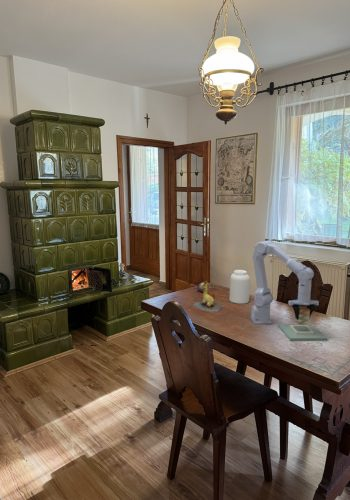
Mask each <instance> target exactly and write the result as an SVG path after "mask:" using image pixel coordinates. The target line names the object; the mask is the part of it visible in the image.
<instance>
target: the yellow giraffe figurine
mask: <svg viewBox="0 0 350 500" xmlns="http://www.w3.org/2000/svg"><path fill="white" fill-rule="evenodd" d="M199 284H200V287H199V288H200V290H202V289H204V292H202V299H201V300H200V301H197V302H195V303H193V305H194V306H195V308H197V309H198V310H202V311H206V312H218V311H219V310H221V309H222V307H220V306H225V304H223V303H220V302H216V301H215V298H213V297H211V296H210V295H208V294H207V291H208V290H209V289H208V285H209V282H208V281H207V280H206V281H204V282H201V283H199ZM211 307H213V308H211Z"/></svg>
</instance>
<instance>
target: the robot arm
mask: <svg viewBox="0 0 350 500" xmlns="http://www.w3.org/2000/svg"><path fill="white" fill-rule="evenodd" d="M252 254H253V255H252V261H253V267H254V274H255V275H254V276H255V282H256V290H255V292H254V298H253V299H254V301H253V302H254V303H255V304H254V305H251V316H250V319H251V321H252V322H253V323H254V324H256V325H257V324H260V325H261V324H265V325H266V324H273V322H272V321H271V319H270V315H271V314H270V313H271V303H273V299H274V297H273V294H272V292H271V289H270V288H269V287H268V281H267V280H268V279H267V272H266V266H265V258H266V256H268V255H274V256H276V257H277V258H279V259H280V260H281V261H283V262H284V264H286V267H287V269H289V270H290V271H292V273H294V274H295V275H296V276H297V279H298V287H297V289H298V292H297V299H293V300H288V302H287V304H288V305H289V306H291V307H292V309H293V312H294V319H295V318H296V319H297V320H298V319H299V310H300V307H301V306H306V307H307V308H308V309H309V310H310V316H309V320H310V319H311V316H312V314H313V312H314V310H315V309H316V306H319V305H320V304H319V303H320V301H318V300H312V299H311V295H312V294H311V291H312V280H313V279H312V278H314V276H315V272H314V270H313V269H312V268H311V267H307V266H306V265H304V264H303V263H302V262H300V260H299V258H295V257H292V258H291V257H290V256H289V255H288V254H287V253H286V252H284V250H282V249H281V248H280V247H279V246H278V244H277V243H275V242H274V241H273V240H270V239H269V240H265V241H264V240H263V241H257V243H256V244H255V245H254V251H253V253H252Z"/></svg>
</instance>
